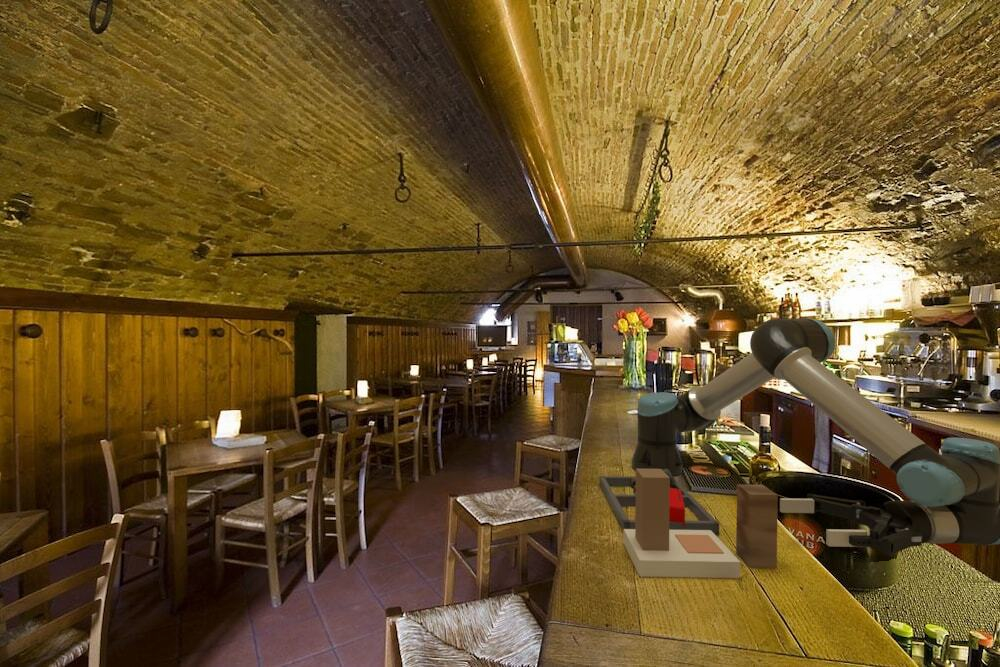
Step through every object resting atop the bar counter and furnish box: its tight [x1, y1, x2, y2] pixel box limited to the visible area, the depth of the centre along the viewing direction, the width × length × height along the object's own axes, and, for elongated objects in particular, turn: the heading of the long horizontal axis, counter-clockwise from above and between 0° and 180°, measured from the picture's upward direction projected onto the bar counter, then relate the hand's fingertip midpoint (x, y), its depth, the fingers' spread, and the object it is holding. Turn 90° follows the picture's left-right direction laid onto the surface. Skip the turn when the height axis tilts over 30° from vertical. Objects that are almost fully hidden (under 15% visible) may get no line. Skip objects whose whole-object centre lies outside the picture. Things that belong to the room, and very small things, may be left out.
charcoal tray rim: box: [599, 475, 720, 536], centre depth 109 cm, size 29×20×2 cm
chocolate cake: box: [631, 469, 676, 495], centre depth 116 cm, size 10×7×12 cm
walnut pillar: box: [735, 484, 779, 569], centre depth 84 cm, size 5×5×14 cm
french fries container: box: [669, 488, 686, 527], centre depth 103 cm, size 7×9×14 cm
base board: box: [622, 469, 741, 579], centre depth 85 cm, size 12×18×17 cm, turn 88°
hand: (802, 520), depth 84 cm, fingers open, 13 cm apart
